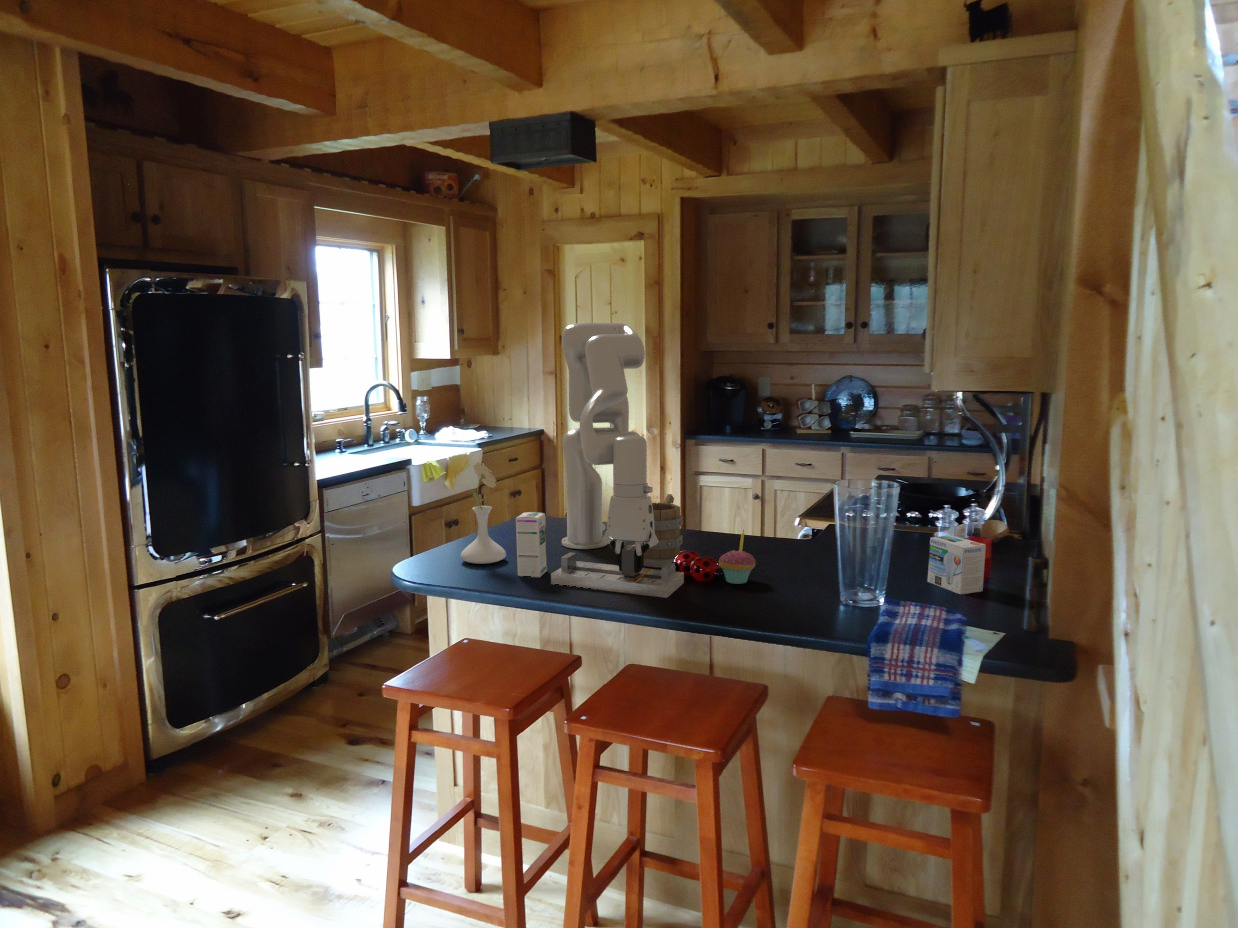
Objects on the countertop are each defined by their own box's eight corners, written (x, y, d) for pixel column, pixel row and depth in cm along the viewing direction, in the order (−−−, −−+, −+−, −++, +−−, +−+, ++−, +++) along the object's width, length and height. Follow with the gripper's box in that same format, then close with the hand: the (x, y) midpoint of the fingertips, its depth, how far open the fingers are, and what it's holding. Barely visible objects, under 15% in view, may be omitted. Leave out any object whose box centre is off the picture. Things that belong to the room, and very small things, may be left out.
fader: (628, 570, 202) (628, 544, 201) (640, 571, 201) (641, 545, 200) (621, 574, 198) (621, 548, 197) (634, 576, 197) (634, 549, 196)
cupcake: (733, 573, 209) (734, 524, 207) (762, 581, 203) (764, 530, 201) (710, 581, 203) (711, 530, 201) (740, 588, 197) (741, 536, 195)
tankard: (675, 569, 213) (675, 509, 210) (626, 564, 217) (626, 505, 215) (696, 550, 231) (697, 494, 229) (651, 546, 236) (651, 491, 233)
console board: (573, 570, 212) (572, 548, 211) (683, 582, 201) (683, 559, 201) (551, 584, 201) (550, 560, 200) (667, 597, 190) (667, 573, 190)
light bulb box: (926, 582, 202) (928, 536, 200) (948, 578, 205) (951, 533, 203) (961, 595, 192) (964, 547, 191) (984, 591, 195) (987, 544, 193)
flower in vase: (510, 565, 217) (508, 465, 213) (464, 569, 213) (461, 468, 209) (500, 552, 229) (497, 458, 225) (456, 556, 225) (453, 460, 221)
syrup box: (540, 577, 206) (539, 517, 203) (516, 576, 207) (515, 516, 205) (547, 571, 211) (546, 512, 209) (523, 569, 212) (522, 511, 210)
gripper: (670, 490, 196) (670, 569, 199) (603, 486, 203) (603, 563, 205) (659, 495, 190) (659, 578, 192) (589, 491, 196) (590, 571, 198)
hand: (630, 569), depth 199 cm, fingers closed on fader, 3 cm apart
